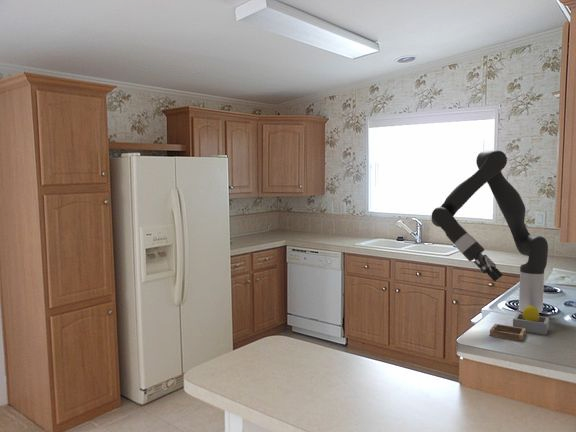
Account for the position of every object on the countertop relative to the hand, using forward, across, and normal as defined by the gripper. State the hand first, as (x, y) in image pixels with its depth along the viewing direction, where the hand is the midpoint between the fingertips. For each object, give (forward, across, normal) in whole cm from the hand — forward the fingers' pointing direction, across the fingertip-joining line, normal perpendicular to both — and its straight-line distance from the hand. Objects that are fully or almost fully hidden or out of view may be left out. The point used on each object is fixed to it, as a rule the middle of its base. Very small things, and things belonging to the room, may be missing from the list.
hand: (499, 278), depth 178 cm
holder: (+21, 0, +4) cm, 21 cm away
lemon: (+20, 0, +4) cm, 20 cm away
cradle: (+17, -14, +9) cm, 23 cm away
